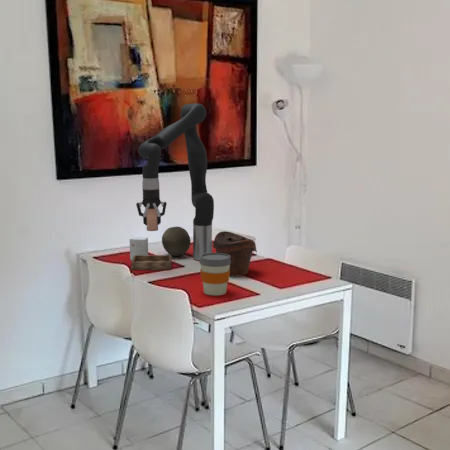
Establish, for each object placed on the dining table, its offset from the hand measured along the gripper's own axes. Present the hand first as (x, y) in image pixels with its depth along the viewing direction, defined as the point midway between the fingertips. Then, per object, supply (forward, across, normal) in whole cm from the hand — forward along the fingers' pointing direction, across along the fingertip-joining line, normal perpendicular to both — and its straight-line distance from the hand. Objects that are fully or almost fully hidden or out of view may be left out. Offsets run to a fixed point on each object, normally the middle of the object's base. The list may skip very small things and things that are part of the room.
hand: (152, 224), depth 284 cm
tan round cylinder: (+3, 0, 0) cm, 3 cm away
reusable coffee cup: (+21, -26, +38) cm, 50 cm away
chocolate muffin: (+22, -37, +8) cm, 43 cm away
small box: (+21, +8, -19) cm, 29 cm away
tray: (+21, +1, -5) cm, 21 cm away
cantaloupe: (+21, -11, -24) cm, 34 cm away
